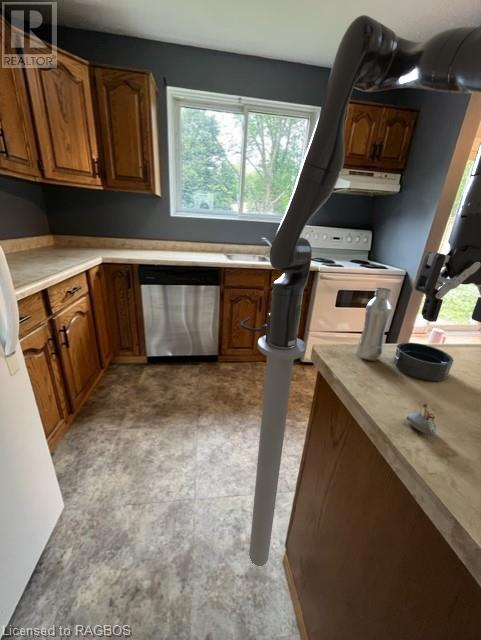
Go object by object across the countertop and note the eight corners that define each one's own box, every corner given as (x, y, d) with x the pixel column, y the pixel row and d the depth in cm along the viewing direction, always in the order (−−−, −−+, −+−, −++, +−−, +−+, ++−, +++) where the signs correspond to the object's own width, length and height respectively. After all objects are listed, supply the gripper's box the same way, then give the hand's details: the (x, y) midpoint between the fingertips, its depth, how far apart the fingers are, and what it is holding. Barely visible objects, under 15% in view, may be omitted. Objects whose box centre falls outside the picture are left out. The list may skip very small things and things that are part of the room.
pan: (386, 368, 72) (390, 351, 70) (400, 354, 80) (404, 338, 79) (442, 388, 64) (448, 370, 62) (451, 370, 72) (457, 353, 71)
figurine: (399, 420, 53) (407, 394, 51) (419, 418, 53) (428, 393, 51) (420, 440, 48) (430, 413, 46) (442, 438, 48) (452, 411, 46)
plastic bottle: (368, 351, 81) (384, 286, 74) (385, 362, 75) (404, 292, 68) (350, 353, 79) (364, 286, 72) (365, 364, 73) (382, 292, 66)
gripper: (510, 215, 42) (474, 314, 48) (423, 210, 41) (397, 312, 46) (568, 214, 35) (518, 330, 41) (465, 208, 34) (428, 328, 39)
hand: (453, 320), depth 43 cm, fingers open, 8 cm apart
